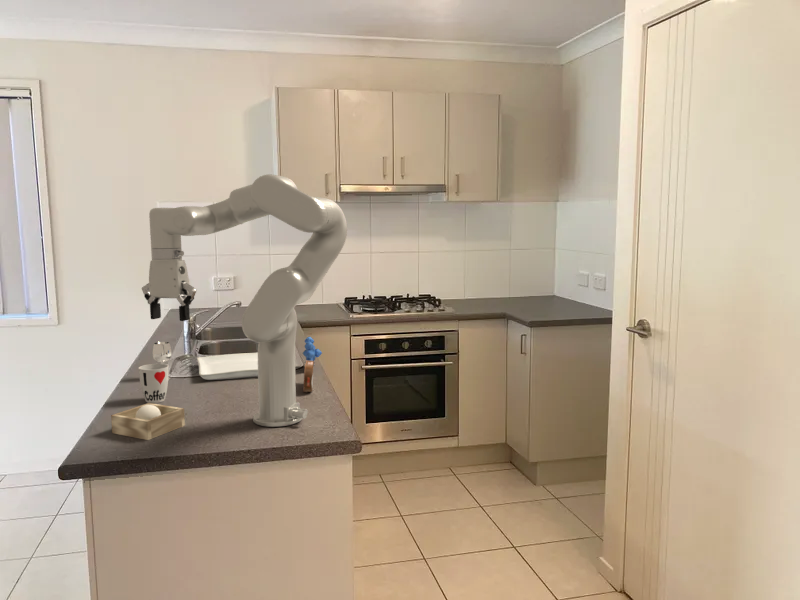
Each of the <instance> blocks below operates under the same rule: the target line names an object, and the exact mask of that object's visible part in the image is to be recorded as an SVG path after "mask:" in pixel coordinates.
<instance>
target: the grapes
mask: <svg viewBox="0 0 800 600" xmlns="http://www.w3.org/2000/svg"><path fill="white" fill-rule="evenodd" d="M304 343H305V344H304V348H305V350H304V351H303V352H302V354H303V356H304V357H305V362H304V364H305V363H306V360H308V361H314V367H315V363H316V362H315V360H316V358H319V357H321V355H322V354H323V352H322V351H321V349H319V348H316V346H315V345H314V343H315V340H314V338H312V336H308V337H306V338H305V339H304Z"/></svg>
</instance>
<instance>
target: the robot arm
mask: <svg viewBox="0 0 800 600" xmlns="http://www.w3.org/2000/svg"><path fill="white" fill-rule="evenodd" d="M270 215H271V217H274V218H276V219H278V220H280V221H282V222H283V223H285V224H287V225H289V226H290V227H292V228H294V229H296V230H298V231H301V232H304V233H312V234H311V236H310V238H308V240H307V241H306V242H305V243H304V244H303V245H302V247H301V248H300V251H299V252H298V254H297V255H296V256H295V258H294V259H293V261H292V262H291V263H290V264H289V265H288V266H284V267H282V268H278V269H276V270H274V271H273V272H272V273H270V274H269V276H268V277H267V278H266V279H265V280H264V282H263V283H262V285H261V286H260V287H259V289H258V291H257V292H256V294H255V295H254V296H253V298H252V300H251V301H250V303H248V306H247V307H246V309H245V310H244V312H243V314H242V316H241V317H242V318H241V329H242V331H243V334H244V336H245V337H246V338H247V339H248V340H250V341H252V342H254V343H258V344H257V345H258V346H257V353H258V377H257V384H258V388H257V389H258V391H257V392H258V412H257V413H254V415H253V417H252V418H253V419H252V420H253V423H254V424H256V425H258V426H262V427H267V428H268V427H269V428H271V427H272V428H275V427H278V428H279V427H285V426H292V425H295V424H297V423H299V422H300V421H302V420H304V419H306V418H307V417H308V412H309V410H308V409H307V408H301V407H300V402H299V401H297V392H296V391H297V389H296V387H297V385H296V339H297V338H296V336H297V329H298V316H297V312H296V309H295V307H296V306H297V305H300V304H303V303H305V302H306V301H308V300H309V299H310V298H311V297H312V296H313V295H314V294H315V291H316V290H317V289H318V286H319V285H320V283H321V282H322V281H323V279H324V278H325V276H327V273H328V272H329V270H330V268H331V267H332V266H333V264H334V262H335V261H336V259H337V258H338V256H339V255H340V253H341V251H342V250H343V248H344V246H345V243H346V239H347V236H348V223H347V219H346V215H345V214H344V211H343V209H342V208H341V206H339V204H338V203H337V202H335V200H332V199H330V198H327V197H321V196H320V197H318V196H312V195H309V194H308V193H305V192H304V191H302V190H300V189H298V186H297V185H296V183H295V182H294V181H293V180H292V179H290V178H289V177H287V176H284V175H277V174H270V173H269V174H263V175H261V176H259V177H257V178H256V179H255V180H254V181H253V183H252V184H248V185H246V186H243V187H240V188H239V187H238V188H236V189H233V190H232V191H230V194H229V197H228V198H226V199H225V200H221V201H219V202H216V203H212V204H209V205H205V206H193V205H192V206H191V205H190V206H187V205H186V206H177V207H153V208H151V209H150V210H149V217H148V218H149V230H150V231H149V232H150V234H149V235H150V251H151V252H150V253H151V260H150V262H149V270H148V274H149V275H148V283H146V284H145V285H143V286H142V287H141V291H142V293H143V295H144V298H145V300H146V301H147V305H149V313H150V319H151V320H156V319H157V320H158V319H161V318H162V313H161V302H159V301H160V300H161V299H176V300H177V301H178V303H179V307H178V311H179V312H178V313H179V316H178V318H179V321H181V322H186V321H190V320H191V319H190V318H191V317H190V314H191V313H190V305H192V301H194V300H195V296H196V294H197V288H195V287H194V286H192V285H191V284H190V279H189V272H188V267H187V264H186V261H185V259H183V257H184V255H185V252H184V250H183V249H182V237H183V236H184V237H193V236H207V235H212V234H215V233H218V232H222V231H225V230H229V229H231V228H234V227H237V226H240V225H243V224H245V223H247V222H250V221H251V222H252V221H255V220H258V219H260V218H263V217H267V216H270Z"/></svg>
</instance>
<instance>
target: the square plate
mask: <svg viewBox="0 0 800 600" xmlns="http://www.w3.org/2000/svg"><path fill="white" fill-rule="evenodd" d="M196 361H197V364H198V375H199V376H200V377H201V378H202V379H203V380H207V381H217V380H218V381H221V380H235V379H236V380H237V379H245V378H246V379H248V378H258V352H247V353H246V352H245V353H228V354H216V355H210V356H209V355H207V356H199V357H198V356H197V357H196Z"/></svg>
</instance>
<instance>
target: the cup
mask: <svg viewBox="0 0 800 600" xmlns="http://www.w3.org/2000/svg"><path fill="white" fill-rule="evenodd" d="M169 367H170V365H169V364H167V363H164V364H162V363H152V364H151V363H150V364H143V365H141V366H139V367H138V376H139V383H140V389H141V392H142V395H143V397H144V400H145V402H146V404H147V403H153V404H157V403H161V402H164V401H165V400H166V397H167V391H168V385H169V380H168V377H169V373H170V372H169Z"/></svg>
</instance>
